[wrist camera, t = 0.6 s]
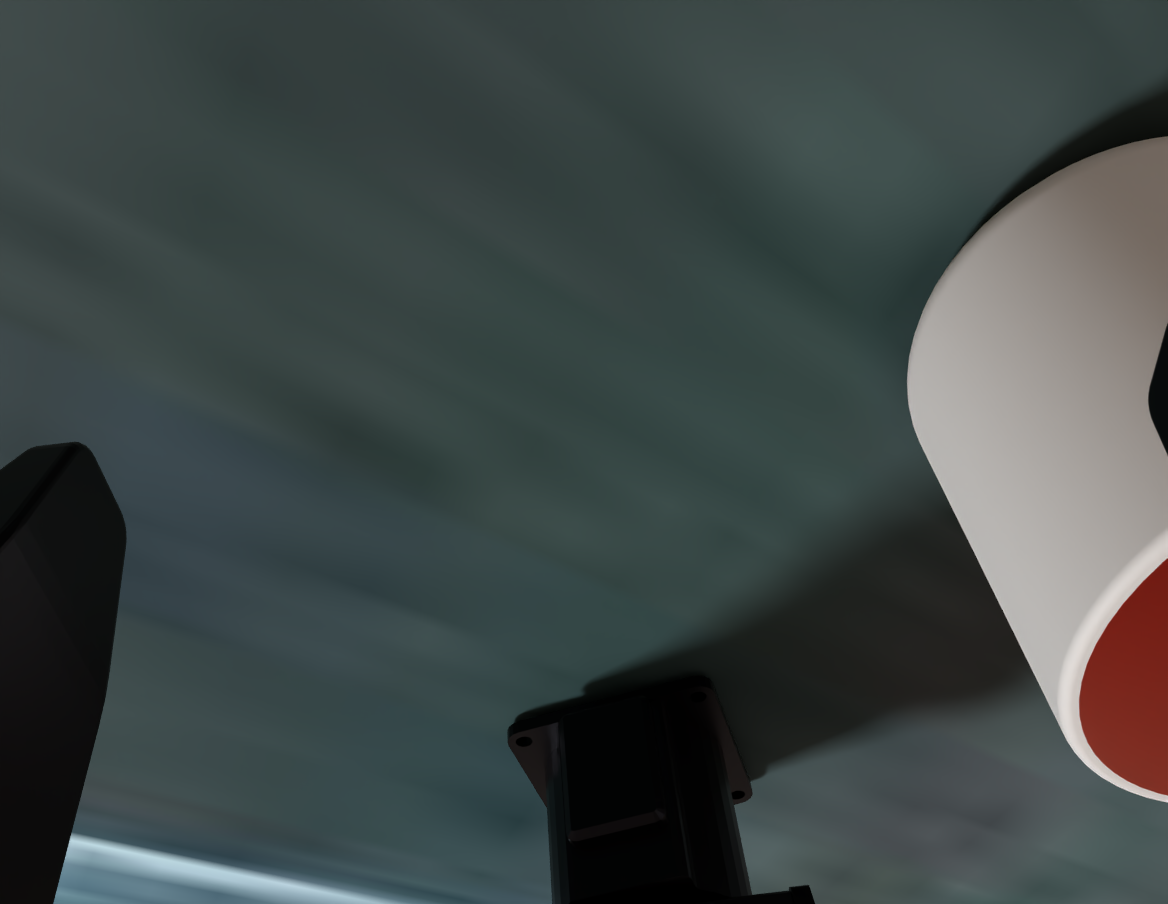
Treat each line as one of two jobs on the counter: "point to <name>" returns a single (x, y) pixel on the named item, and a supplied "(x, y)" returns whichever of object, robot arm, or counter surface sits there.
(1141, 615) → the cup
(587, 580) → the counter surface
